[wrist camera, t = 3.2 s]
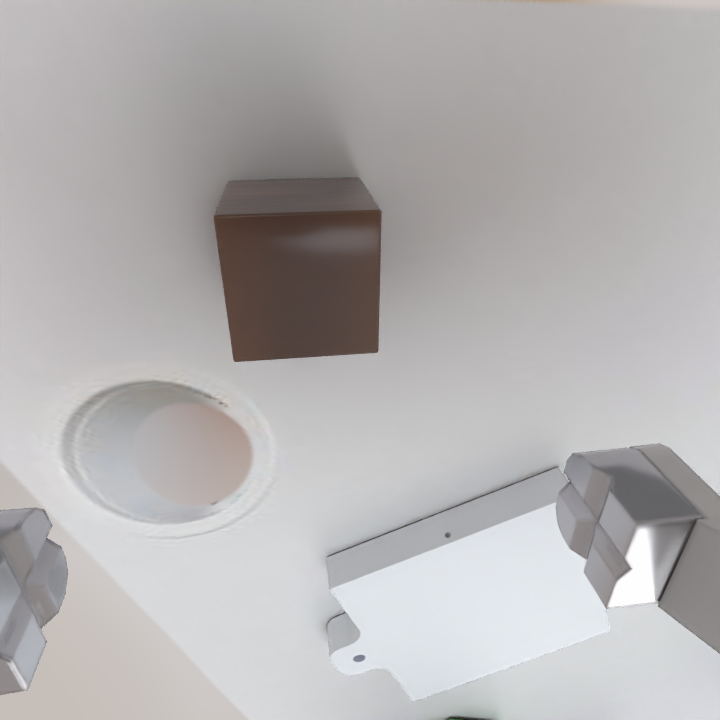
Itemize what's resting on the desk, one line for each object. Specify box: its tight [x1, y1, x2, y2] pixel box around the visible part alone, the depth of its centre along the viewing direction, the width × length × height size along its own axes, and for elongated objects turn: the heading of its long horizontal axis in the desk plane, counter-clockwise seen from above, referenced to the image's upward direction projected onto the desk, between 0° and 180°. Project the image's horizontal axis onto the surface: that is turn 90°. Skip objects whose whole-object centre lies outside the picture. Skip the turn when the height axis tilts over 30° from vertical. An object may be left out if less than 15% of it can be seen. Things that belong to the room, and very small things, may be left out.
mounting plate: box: [326, 467, 611, 702], centre depth 29 cm, size 18×13×2 cm
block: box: [214, 178, 381, 362], centre depth 17 cm, size 4×4×4 cm
